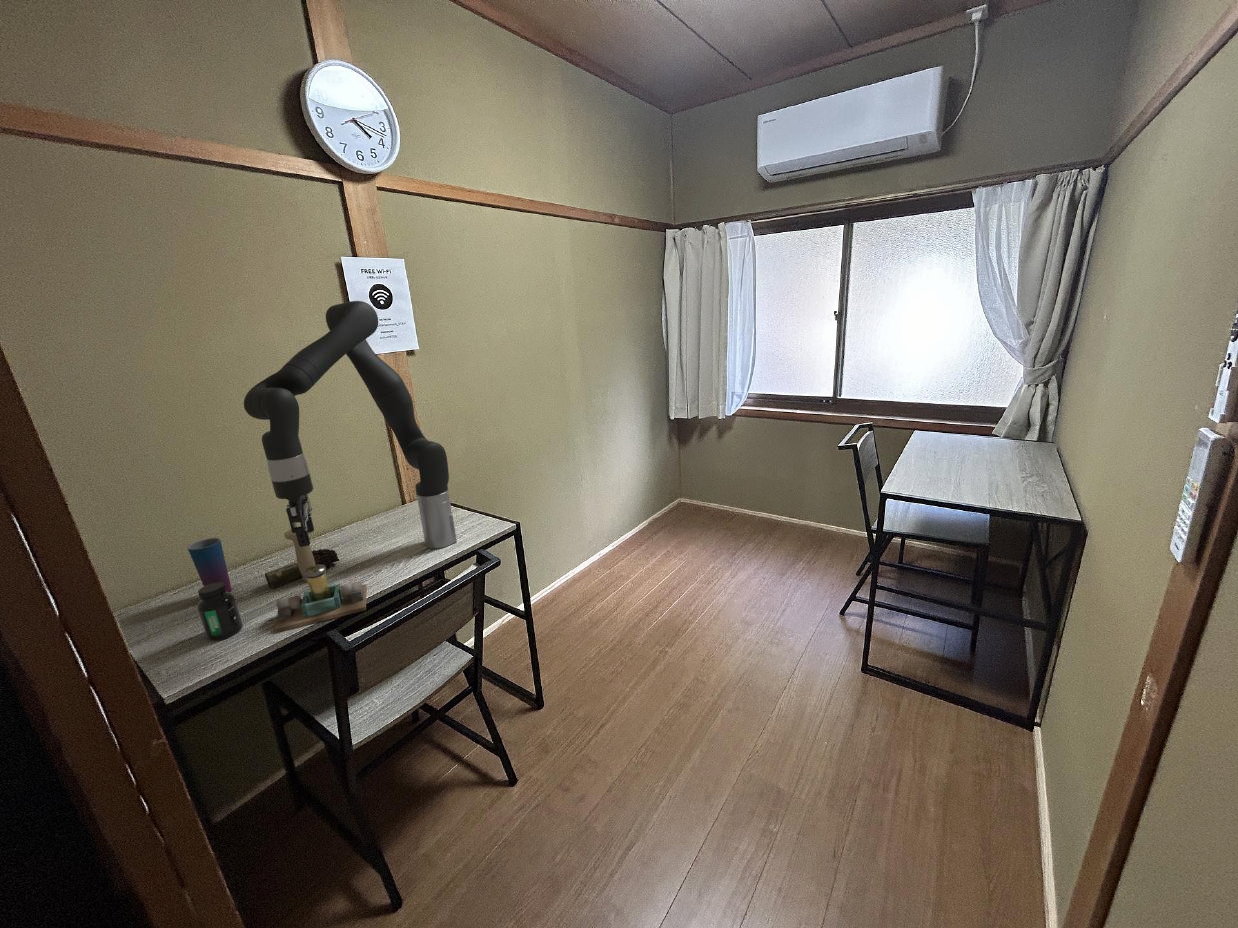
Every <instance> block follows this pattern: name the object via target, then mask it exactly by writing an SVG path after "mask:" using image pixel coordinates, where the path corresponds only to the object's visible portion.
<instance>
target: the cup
mask: <svg viewBox="0 0 1238 928" xmlns="http://www.w3.org/2000/svg"><path fill="white" fill-rule="evenodd" d="M187 551H188V553H189V554H190V558H191V559H192V562H193V564H194V567H195V569H196V571H197V574H198V575H199V579H200V581H201V583H202V587H204V586H206V585H209V584H212V583H217V582H222V583H224V584H225V588H226V590H227V591H226V592H230V593H232V585H231V582H230V576H229V571H228V568H227V562H226V557H225V554H224V550H223V545H222V541H221V538H220V537H209V538H204V539H200V540H196V541H194V542H193V543H190V544H189V545H188V546H187Z"/></svg>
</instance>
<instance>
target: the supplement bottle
mask: <svg viewBox="0 0 1238 928" xmlns="http://www.w3.org/2000/svg"><path fill="white" fill-rule="evenodd" d="M226 591H227V590H226V588H225V584H224V583H222V582H217V583H212V584H209V585H206V586H202V587H200V588H199V589H198V590H197V592H198V598H199V599H200V600H199V602H198V603H197V606H196V609H197V612H198V615H199V618H200V622H201V624H202V627H203V631H204V633H205V635H206V638H207V639H208V640H209V641H212V642H213V641H215V642H216V641H217V642H218V641H222V640H225V639H229V638H231V637H233V636H235V635H236V634H238V633H239V632H240V631H241V630H242V629H243V627H244V624H243V620H242V618H241V614H240V610H239V608H238V603H237V601H236V598H235V596H234V594H233V593H232V592H231V593H230V592H226Z"/></svg>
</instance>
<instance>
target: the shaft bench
mask: <svg viewBox="0 0 1238 928" xmlns="http://www.w3.org/2000/svg"><path fill="white" fill-rule="evenodd" d="M328 585H329V584H328ZM367 588H368V587H367V584H366V583H364V584H363V582H362V580H360V581H356V582H352V583H347V584H343V585H341V583H338V584H336V583H335V584H333V583H332V584H330V585H329V589H330V593H331V597H332V598H328V599H324V600H320V601H315V602H313V600H312V596H311V592H310V589H309V590H307V591H304V593H303V597H302V595H300V594H298V595H294V596H290V597H285V598H281V599H277V601H276V608H277V615H278V619H277V622H276V625H275V627H274V630H275V633H280V632H284V631H288V630H292V629H297V628H300V627H303V626H305V627H306V626H308V625H312V624H316V623H320V622H324V621H328V620H332V619H336V618H341V617H344V616H348V615H353V614H357V613H360V612H363V611H366V610H367V595H368V594H367V592H368V591H367V590H368V589H367Z"/></svg>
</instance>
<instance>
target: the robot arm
mask: <svg viewBox="0 0 1238 928" xmlns="http://www.w3.org/2000/svg"><path fill="white" fill-rule="evenodd" d="M325 321H326V326H327V328H328V330H329V331H328V332H327V333H326V334H324V335H323V336H321V337H319V338H318V339H317V340H315V341H313V342H312V343H310V344H308V345H306V346H305V347H303V348H302V349H300V350H299V351H298V352H297V353H296V354H295V355H294V356H292V357H291V358H290V359H289V360H288V361H287V362H286V363H285V364H284V365H283V366H282V367H281V368H280V369H279V370H278V371H277V372H275V373H273V374H271V375H269V376H267V377H266V378H265V379H262V380H261V381H260V382H258V383H256V384H255V385H254V386H253V387H252V388H250V389H249V391H247V393H246V394H245V396H244V399H243V408H244V411H245V412H246V414H247V415H249V417H252V418H254V419H257V420H262V421H263V420H265V421H266V420H267V421H269V430H268V431H266V432H265V433H263V434H262V436H261V443H262V447H263V450H264V453H265V457H266V462H267V469H268V473H269V477H270V480H271V484H272V487H273V492H274V495H275V497H276V499H279V500H287V501H288V504H287V505H286V509H285V512H286V513H287V518H288V521H289V526H290V530H291V531H292V533H296V536H297V540H298V543H299V546H300V547H304V546H309V545H311V540H310V534H309V535H308V533H309V532H311V533H314V531H315V526H314V523H313V519H312V515H313V512H312V511H313V508H312V505H311V502H310V499H309V494H310V493H312V492H313V491H314V485H313V482H312V478H311V477H312V476H311V473H310V469H309V467H308V466H309V465H308V463H307V459H306V458H305V455H304V452H303V448H302V443H301V439H300V437H299V432H300V406H299V401H298V400H297V398H296V396H300V395H303V394H306V393H308V391H310V390H311V389H312V388H313V386H315V385H316V384H317V383H318V382H319V380H320V379H321V378H322V377H323V376H324V375H325V374H326V373H327V372H328V371H329V370H330V369H331V368H332V367H333V366H334V365H336V364H337V362H339V361H340V360H341V359H342V358H343V357H344V356H345V355H346V356H347V358H348V359H349V360H350V362H351V363H352V365H353V366H354V368H355V370H356V371H357V373H358V375H359V376H360V378H361V380H362V381H363V383H364V385H365V386H366V389H367V390H368V392H369V394H370V396H371V397H372V400H373V401H374V402H375V405H376V407H377V408H378V410H379V411H380V412H381V414H382V416H383V418H384V420H385V421H386V422H387V424H388V426H389V427H390V429H391V430H392V432H393V434H394V436H395V437H396V440H397V442H398V444H399V446H400V449H401V452H402V454H403V456H404V458H405V460H406V462H407V463H408V465H409V466H411V467H412V468H414V469H416V470H418V472H419V480H420V481H419V482H416V485H415V494H416V498H417V499H416V500H417V505H418V511H419V515H420V521H421V526H422V533H423V541H424V545H425V546H426V548H429V549H442V548H445V547H448V546H451V545H452V544H456V543H458V540H457V533H456V529H455V528H456V527H455V521H454V515H453V512H452V505H451V501H450V494H449V487H448V484H449V480H450V473H449V463H448V456H447V452H446V450H445V448H444V447H443V445H442V444H440V443H439V442H435V441H431V440H428V439H427V438H426V436H425V435H424V434H423V432H422V430H421V429H420V427H419V425H418V423H417V420H416V417H415V416H416V415H415V409H414V402H413V399H412V396H411V393H410V391H409V390H408V388H407V386H406V384H405V382H404V380H403V378H402V377H401V376H400V374H399V373H398V372H397V371H396V370H395V369H393V367H391V366H390V365H389V364H388V363H386V362H385V361H384V360H383V359H381V357H380V356H378V354H377V353H375V351H374V350H373V348H372V347H371V346H370V344H369V342H368V340H367V339H368V338H369V337H371V336H372V335H374V334H375V333H376V331H377V329H378V326H379V317H378V314H377V311H376V309H375V308H374V307H373V306H372V305H371V304H370V303H368V302H365V301H362V300H353V301H351V300H350V301H347V302H342V303H338V304H334V305H331V306H330V307H328V308H327V310H326V313H325ZM298 523H300V526H297V524H298Z"/></svg>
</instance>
